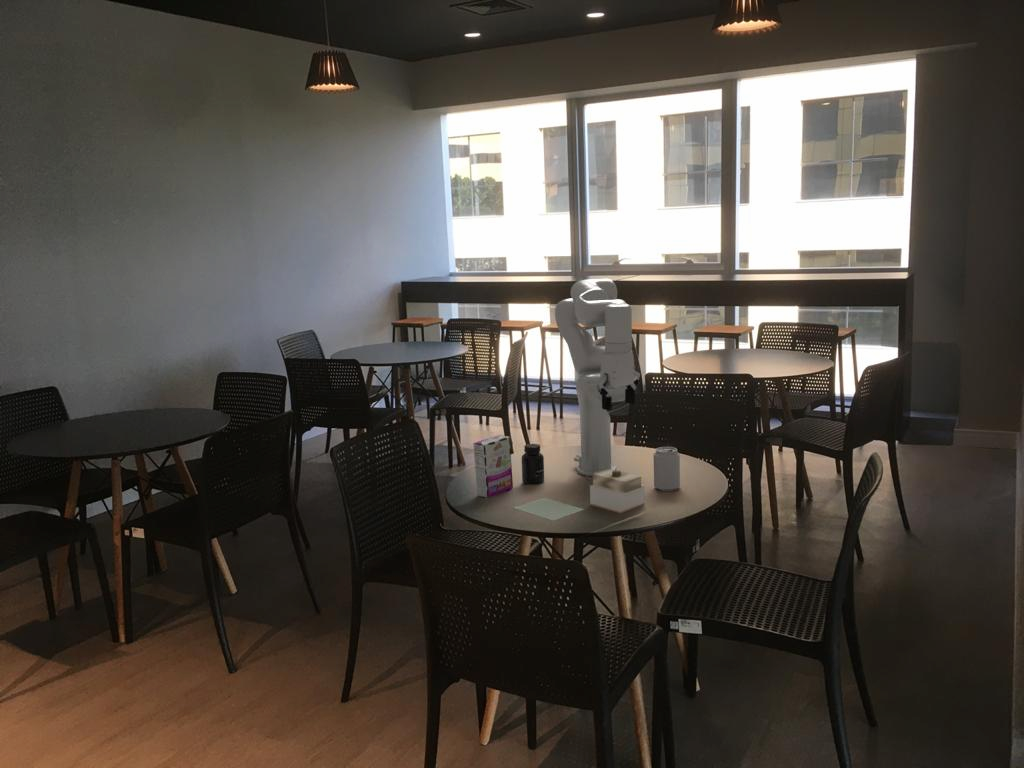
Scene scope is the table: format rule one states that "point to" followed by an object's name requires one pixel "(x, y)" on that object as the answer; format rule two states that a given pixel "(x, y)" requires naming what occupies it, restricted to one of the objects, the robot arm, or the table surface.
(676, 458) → the can
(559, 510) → the mat
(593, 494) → the gray block
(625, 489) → the lid
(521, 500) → the table surface
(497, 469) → the candy bar box
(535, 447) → the supplement bottle
